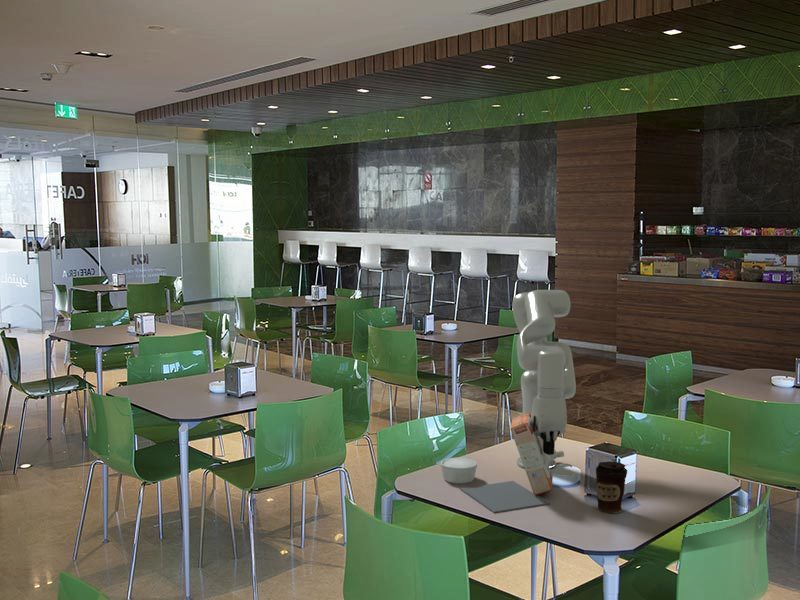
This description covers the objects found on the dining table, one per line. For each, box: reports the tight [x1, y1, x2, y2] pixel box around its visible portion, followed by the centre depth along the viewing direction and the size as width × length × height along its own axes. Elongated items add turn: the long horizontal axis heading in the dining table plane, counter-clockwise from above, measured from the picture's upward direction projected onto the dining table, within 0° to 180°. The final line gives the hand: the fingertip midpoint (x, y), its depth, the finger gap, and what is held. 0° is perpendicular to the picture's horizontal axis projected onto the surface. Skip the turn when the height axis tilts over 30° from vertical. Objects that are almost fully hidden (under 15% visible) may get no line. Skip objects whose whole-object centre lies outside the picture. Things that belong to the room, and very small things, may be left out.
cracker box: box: [509, 413, 553, 495], centre depth 232 cm, size 14×6×21 cm, turn 169°
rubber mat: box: [459, 480, 551, 514], centre depth 227 cm, size 18×20×1 cm
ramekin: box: [440, 457, 478, 484], centre depth 242 cm, size 11×11×5 cm
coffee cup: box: [595, 461, 628, 514], centre depth 216 cm, size 9×8×13 cm
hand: (548, 453), depth 231 cm, fingers closed
